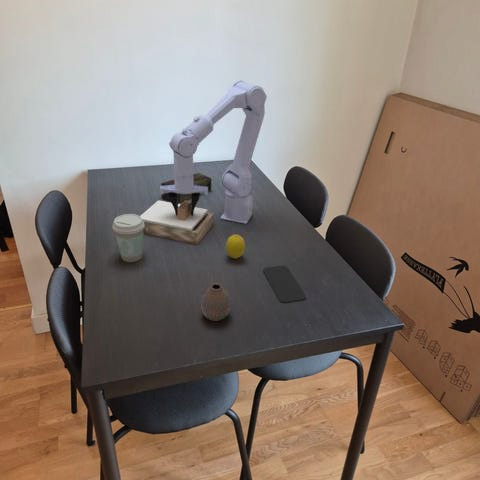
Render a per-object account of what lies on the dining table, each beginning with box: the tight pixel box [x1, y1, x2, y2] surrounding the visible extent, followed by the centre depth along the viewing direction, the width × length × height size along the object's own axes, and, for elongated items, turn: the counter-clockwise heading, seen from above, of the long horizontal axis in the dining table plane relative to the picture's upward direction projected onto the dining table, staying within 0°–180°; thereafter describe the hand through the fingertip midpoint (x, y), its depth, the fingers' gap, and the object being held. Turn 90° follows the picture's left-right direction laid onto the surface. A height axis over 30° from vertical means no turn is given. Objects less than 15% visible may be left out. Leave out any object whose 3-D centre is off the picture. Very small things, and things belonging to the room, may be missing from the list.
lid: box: [139, 199, 209, 231], centre depth 124 cm, size 18×14×5 cm
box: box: [143, 212, 214, 245], centre depth 126 cm, size 18×14×4 cm
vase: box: [200, 283, 231, 322], centre depth 91 cm, size 7×7×9 cm
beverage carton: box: [160, 172, 212, 203], centre depth 148 cm, size 8×19×7 cm, turn 135°
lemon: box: [225, 233, 246, 259], centre depth 112 cm, size 6×6×8 cm
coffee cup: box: [112, 213, 145, 263], centre depth 109 cm, size 8×9×12 cm
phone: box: [262, 265, 307, 304], centre depth 105 cm, size 7×1×15 cm
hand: (184, 214), depth 124 cm, fingers open, 4 cm apart
